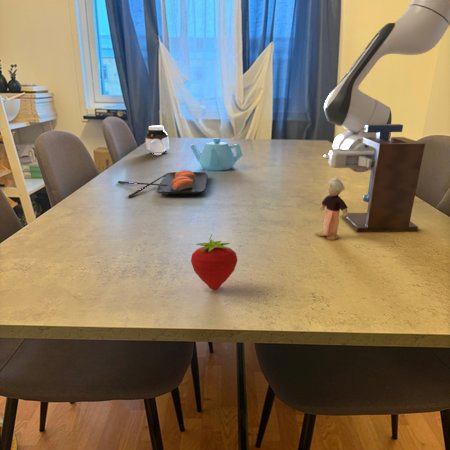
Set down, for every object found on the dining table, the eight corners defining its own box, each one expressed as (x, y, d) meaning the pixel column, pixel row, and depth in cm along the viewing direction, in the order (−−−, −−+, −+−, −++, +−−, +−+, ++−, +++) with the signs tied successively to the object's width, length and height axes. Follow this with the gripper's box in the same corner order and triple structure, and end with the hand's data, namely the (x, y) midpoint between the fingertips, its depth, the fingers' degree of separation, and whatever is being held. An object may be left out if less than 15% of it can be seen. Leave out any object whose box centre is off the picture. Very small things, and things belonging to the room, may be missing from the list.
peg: (385, 197, 109) (397, 123, 101) (392, 202, 105) (405, 125, 97) (353, 198, 109) (363, 123, 101) (359, 203, 105) (370, 126, 96)
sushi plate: (205, 198, 126) (204, 185, 124) (102, 199, 126) (100, 185, 124) (208, 177, 152) (207, 166, 150) (122, 178, 152) (121, 166, 150)
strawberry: (238, 297, 70) (238, 238, 65) (191, 298, 69) (188, 239, 65) (236, 281, 75) (236, 226, 70) (192, 282, 75) (190, 227, 70)
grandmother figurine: (310, 235, 96) (315, 177, 91) (320, 231, 99) (326, 174, 93) (340, 243, 92) (347, 183, 86) (350, 239, 94) (358, 180, 88)
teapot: (211, 173, 158) (211, 142, 153) (189, 167, 169) (188, 138, 164) (244, 168, 166) (244, 138, 161) (221, 162, 177) (221, 135, 172)
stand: (396, 215, 109) (411, 136, 100) (417, 231, 99) (435, 143, 90) (342, 216, 109) (351, 137, 100) (357, 232, 98) (369, 144, 89)
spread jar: (162, 151, 206) (160, 124, 201) (176, 153, 199) (174, 126, 193) (140, 153, 199) (138, 126, 194) (153, 156, 192) (151, 128, 186)
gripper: (323, 142, 112) (337, 150, 100) (400, 141, 113) (424, 149, 101) (320, 167, 115) (334, 178, 103) (396, 165, 116) (419, 176, 104)
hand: (379, 163), depth 102 cm, fingers closed on peg, 2 cm apart
